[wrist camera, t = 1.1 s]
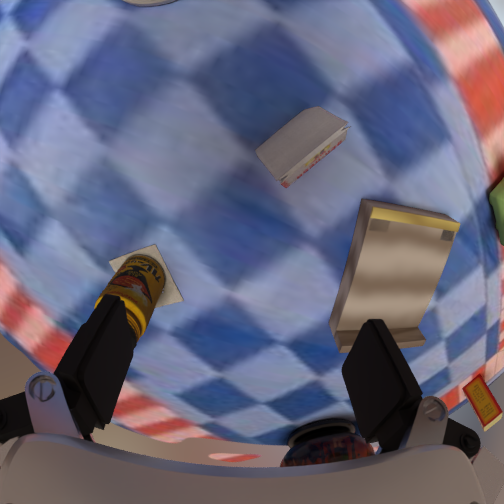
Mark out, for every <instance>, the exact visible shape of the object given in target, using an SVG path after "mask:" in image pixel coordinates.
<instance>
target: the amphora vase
mask: <svg viewBox="0 0 504 504" xmlns="http://www.w3.org/2000/svg"><path fill="white" fill-rule="evenodd" d="M355 431H356V428H355V425H354V424H353V423H352V422H350V421H347V420H341V419H333V420H325V421H319V422H316V423H312V424H309V425H307V426H304V427H302V428H300V429H298V430H296V431H295V432H294V433H293V434H291V436H290V437H289V438H288V446H289V447H290V448H291V449H290V450H289V451H288V452H287V454H286V455H285V456H284V458H283V459H282V462H281V465H280V467H293V466H307V465H317V464H326V463H334V462H340V461H347V460H353V459H358V458H363V457H368V456H374V455H375V453H374V450H373V447H372V446H371V445H370V443H368V444H366V441H365V439H364V438H363V437H361V436H360V435H358V434H355Z"/></svg>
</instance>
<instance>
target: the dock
mask: <svg viewBox="0 0 504 504" xmlns="http://www.w3.org/2000/svg"><path fill="white" fill-rule="evenodd" d="M459 227H460V223H459V222H457V221H456V220H454V219H452V218H451V217H449V216H447V215H445V214H441V213H436V212H431V211H427V210H422V209H417V208H412V207H407V206H402V205H396V204H391V203H385V202H379V201H374V200H368V199H361V204H360V209H359V213H358V218H357V222H356V227H355V231H354V235H353V239H352V243H351V247H350V251H349V255H348V259H347V263H346V266H345V270H344V274H343V277H342V281H341V284H340V288H339V291H338V294H337V298H336V301H335V304H334V308H333V311H332V314H331V317H330V320H329V325H330V328H331V331H332V334H333V336H334V339H335V342H336V345H337V347H338V350H339V353H346V352H350V350H351V348H352V346H353V344H354V342H355V340H356V338H357V336H358V333H359V331H360V329H361V327H362V325H363V323H364V322H367V320H368V319H382V320H383V321H384V322H385V324H386V326H387V328H388V329H389V331H390V333H391V334H392V336H393V338H394V340H395V342H396V343H397V345H398V347H399V349H400V348H409V347H418V346H423V345H424V343H425V341H426V339H425V337H424V336H423V334H422V333H421V331H420V330H419V328H418V325H419V323H420V321H421V319H422V317H423V315H424V313H425V311H426V309H427V307H428V305H429V302H430V300H431V298H432V296H433V293H434V291H435V289H436V286H437V284H438V282H439V279H440V277H441V274H442V272H443V269H444V266H445V264H446V261H447V258H448V255H449V253H450V250H451V247H452V244H453V241H454V238H455V235H456V232H458V230H459Z"/></svg>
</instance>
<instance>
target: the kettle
mask: <svg viewBox="0 0 504 504" xmlns="http://www.w3.org/2000/svg"><path fill="white" fill-rule="evenodd" d="M489 195H490V196H489V202H490V204H491V205H492V206H493V210H494V214H495V218H496V225H495V226H496V229H497V230H498V232H499V237H500V242H501V244H502V245H503V246H504V178H503V179H502V180H501V181H500V183H499V184H498V185H497V186H496V187H495V188H494V189H493V191H492V192H491V193H490V194H489Z"/></svg>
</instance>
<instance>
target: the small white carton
mask: <svg viewBox="0 0 504 504" xmlns="http://www.w3.org/2000/svg"><path fill="white" fill-rule="evenodd" d="M347 123H348V122H347V121H344V120H342V119H340V118H338V117H336V116H335V115H333V114H331V113H330V112H328V111H326V110H324V109H323V108H321V107H319V106H317V107H313V108H309V109H305V110H303V111H302V112H300V113H299V114H298V115H297V116H295V117H294V118H293V119H292V120H290V121H289V122H288V123H287V124H285V125H284V126H283V127H282V128H281V129H279V130H278V131H277V132H276V133H275V134H273V135H272V136H271V137H270V138H269V139H267V140H266V141H265V142H264V143H263V144H262V145H260V146H259V147H258V148H257V149H256V150H255V152H256V154H257V156H258V158H259V159H260V160H261V161H262V163H263V164H264V165H265V166H266V168H267V169H268V170H269V171H270V173H271V174H272V175H273V177H274V178H275V179H276V181H278V180H279V181H280V182H281V183H280V184H281V185H283V186H284V187H285V188H287V187H289V186H290V185H291V184H292V183H293V182H295V181H296V180H297V179H298V178H299V177H301V176H302V175H303V174H304V173H305V172H307V171H308V170H309V169H310V168H311V167H313V166H314V165H315V164H316V163H317V162H319V161H320V160H321V159H322V158H323V157H325V156H326V155H327V154H328V153H330V152H331V151H332V150H333V149H335V148H336V147H337V146H338V145H339V144H341V143H342V142H343V141H344V140H345V139H346V134H347V130H348V128H350V127H351V126H350V127H347V128H344V127H345V126H346V124H347Z"/></svg>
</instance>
